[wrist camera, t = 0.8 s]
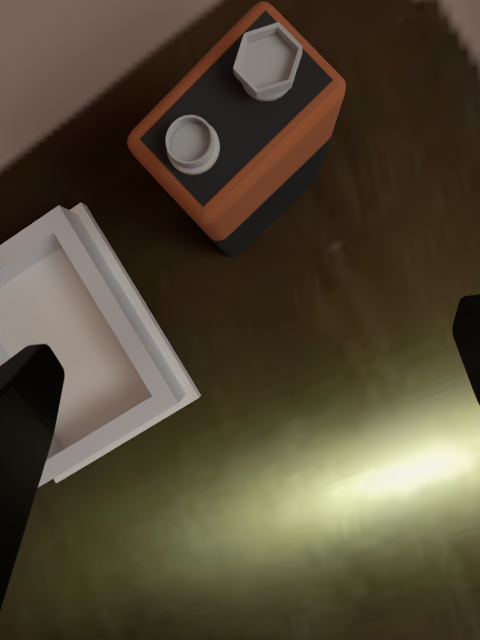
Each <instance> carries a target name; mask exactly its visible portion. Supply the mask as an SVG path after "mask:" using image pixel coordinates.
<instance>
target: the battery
mask: <svg viewBox="0 0 480 640" xmlns="http://www.w3.org/2000/svg"><path fill="white" fill-rule="evenodd" d="M345 88H346V85H345V81H344V79H343V78H342V77H341V76H340V75H339V74H338V73H337V72H336V71H335V70H334V69H333V68H332V67H331V66H330V65H329V64H328V63H327V61H326V60H325V59H324V58H323V57H322V56H321V55H320V54H319V53H318V52H317V51H316V50H315V49H314V48H313V47H312V46H311V45H310V44H309V43H308V42H307V41H306V40H305V39H304V38H303V37H302V36H301V35H300V34H299V33H298V32H297V31H296V30H295V29H294V28H293V27H292V26H291V25H290V24H289V23H288V22H287V20H286V19H285V18H284V17H283V16H282V15H281V14H280V13H279V12H278V11H277V10H276V9H275V8H274V7H273V6H272V5H270V4H269V3H267V2H260V3H258V4H256V5H255V6H254V7H253V8H251V9H250V10H249V11H248V12H247V13H246V14H245V15H244V16H243V17H242V18H241V19H240V20H239V21H238V23H237V24H236V25H235V26H234V27H233V28H232V29H231V30H230V31H229V32H228V33H227V34H226V35H225V36H224V37H223V38H222V39H221V40H220V41H219V42H218V43H217V44H216V45H215V46H214V47H213V48H212V49H211V50H210V51H209V52H208V53H207V54H206V55H205V56H204V57H203V58H202V59H201V60H200V61H199V62H198V63H197V65H196V66H195V67H194V68H193V69H192V70H191V71H190V72H189V73H188V74H187V75H186V76H185V77H184V78H183V79H182V80H181V81H180V82H179V83H178V84H177V85H176V86H175V87H174V88H173V89H172V90H171V91H170V92H169V93H168V94H167V95H166V96H165V97H164V98H163V99H162V100H161V101H160V102H159V103H158V104H157V105H156V106H155V108H154V109H153V110H152V111H151V112H150V113H149V114H148V115H147V116H146V117H145V118H144V119H143V120H142V121H141V122H140V123H139V124H138V125H137V126H136V127H135V128H134V129H133V131H132V132H131V133H130V135H129V137H128V140H127V144H128V148H129V150H130V151H131V153H132V154H133V155H134V156H135V158H136V159H137V160H138V161H139V162H140V163H141V164H142V165H143V166H144V167H145V168H146V169H147V171H148V172H149V173H150V174H151V175H152V176H153V177H154V178H155V179H156V180H157V181H158V182H159V184H160V185H161V186H162V187H163V188H164V189H165V190H166V191H167V192H168V193H169V194H170V195H171V196H172V198H173V199H174V200H175V201H176V202H177V203H178V204H179V205H180V206H181V207H182V208H183V209H184V211H185V212H186V213H187V214H188V215H189V216H190V217H191V218H192V219H193V220H194V221H195V222H196V223H197V224H198V226H199V227H200V228H201V229H202V230H203V231H204V232H205V233H206V234H207V235H208V236H209V237H210V238H211V239H212V241H213V242H214V243H215V244H216V245H217V246H218V247H219V248H220V249H221V250H222V251H223V252H224V253H225V254H226V255H227V256H229V257H234V256H237V255H238V254H239V253H240V252H242V251H243V250H244V249H245V248H246V247H247V246H248V245H249V244H250V243H251V242H252V241H253V240H254V239H255V238H256V237H257V236H259V235H260V234H261V233H262V232H263V231H264V230H265V229H266V228H267V227H268V226H269V225H270V224H271V223H272V222H273V221H274V220H275V219H276V218H277V217H278V216H279V215H281V214H282V213H283V212H284V211H285V210H286V209H287V208H288V207H289V206H290V205H291V204H292V203H293V202H294V201H295V200H296V199H297V198H298V197H299V196H300V195H302V194H303V193H304V192H305V191H306V190H307V189H308V188H309V187H310V186H311V185H312V184H313V183H314V182H315V181H316V180H317V178H318V175H319V172H320V169H321V166H322V163H323V160H324V156H325V153H326V150H327V147H328V144H329V141H330V138H331V135H332V132H333V128H334V125H335V122H336V119H337V116H338V113H339V110H340V107H341V104H342V100H343V97H344V94H345Z"/></svg>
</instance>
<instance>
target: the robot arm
mask: <svg viewBox="0 0 480 640" xmlns="http://www.w3.org/2000/svg"><path fill="white" fill-rule="evenodd" d="M452 331H453V337H454V340H455V343H456V345H457V348H458V351H459V354H460V356H461V359H462V362H463V364H464V367H465V370H466V372H467V375H468V378H469V381H470V383H471V386H472V389H473V391H474V394H475V396H476V398H477V401H478V403H479V405H480V294H479V295H470V296H464V297H462V298H461V300H460V302H459V304H458V308H457V312H456V316H455V319H454V323H453V328H452ZM64 379H65V373H64V369H63V366H62V365H61V363H60V362H59V360H58V359H57V357H56V355H55V354H54V352H53V351H52V349H51V348H50V346H48V345H47V344H35V345H29V346H26V347H25V348H23V349H22V350H21V351H19V352H18V353H17V354H15V355H14V356H13V357H11V358H10V359H9V360H7V361H6V362H5V363H3V364H2V365H1V366H0V610H1V607H2V603H3V600H4V597H5V594H6V590H7V587H8V584H9V581H10V577H11V574H12V571H13V568H14V564H15V561H16V558H17V554H18V551H19V548H20V545H21V541H22V538H23V535H24V532H25V528H26V525H27V522H28V519H29V515H30V512H31V509H32V505H33V502H34V499H35V496H36V492H37V489H38V486H39V483H40V479H41V476H42V473H43V470H44V466H45V463H46V460H47V456H48V453H49V450H50V447H51V443H52V439H53V435H54V431H55V426H56V421H57V416H58V410H59V405H60V400H61V395H62V389H63V384H64Z"/></svg>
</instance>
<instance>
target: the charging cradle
mask: <svg viewBox="0 0 480 640" xmlns="http://www.w3.org/2000/svg"><path fill="white" fill-rule="evenodd" d="M35 344H47V345H48V346H50V348H51V349H52V351H53V352H54V354H55V355H56V357H57V359H58V360H59V362H60V363H61V365H62V366H63V369H64V373H65V379H64V384H63V389H62V395H61V400H60V405H59V410H58V416H57V421H56V426H55V431H54V435H53V439H52V443H51V447H50V450H49V453H48V456H47V460H46V463H45V466H44V470H43V473H42V476H41V479H40V483H39V486H38V487H40V486H41V485H43V484H45V483H46V482H48V481H50V480H51V479H54V480H55V482H56V483H58V482H59V481H61V480H63V479H64V478H66V477H68V476H69V475H71V474H73V473H74V472H76V471H78V470H79V469H81V468H83V467H84V466H86V465H88V464H89V463H91V462H93V461H94V460H96V459H98V458H99V457H101V456H103V455H104V454H106V453H108V452H109V451H111V450H113V449H114V448H116V447H118V446H119V445H121V444H123V443H124V442H126V441H128V440H129V439H131V438H133V437H134V436H136V435H138V434H139V433H141V432H143V431H144V430H146V429H148V428H149V427H151V426H153V425H154V424H156V423H158V422H159V421H161V420H163V419H164V418H166V417H168V416H169V415H171V414H173V413H174V412H176V411H178V410H179V409H181V408H183V407H184V406H186V405H188V404H189V403H191V402H193V401H194V400H196V399H198V398H199V397H200V396H201V394H200V393H199V391H198V389H197V388H196V386H195V384H194V383H193V381H192V379H191V378H190V376H189V374H188V373H187V371H186V369H185V368H184V366H183V364H182V363H181V361H180V360H179V358H178V356H177V355H176V353H175V351H174V350H173V348H172V346H171V345H170V343H169V341H168V340H167V338H166V336H165V335H164V333H163V331H162V330H161V328H160V327H159V325H158V323H157V322H156V320H155V318H154V317H153V315H152V313H151V312H150V310H149V308H148V307H147V305H146V303H145V302H144V300H143V298H142V297H141V295H140V293H139V292H138V290H137V289H136V287H135V285H134V284H133V282H132V280H131V279H130V277H129V275H128V274H127V272H126V270H125V269H124V267H123V265H122V264H121V262H120V260H119V259H118V257H117V256H116V254H115V252H114V251H113V249H112V247H111V246H110V244H109V242H108V241H107V239H106V237H105V236H104V234H103V232H102V231H101V229H100V227H99V226H98V224H97V223H96V221H95V219H94V218H93V216H92V214H91V213H90V211H89V209H88V208H87V206H86V205H85V204H83V203H79V204H78V205H76V206H75V207H73V208H72V209H70V210H68V209H66V208H63V207H61V206H57V207H56V208H54V209H53V210H51V211H50V212H48V213H47V214H45V215H44V216H43V217H41V218H40V219H38V220H37V221H35V222H34V223H32V224H31V225H29V226H28V227H26V228H25V229H23V230H22V231H20V232H19V233H18V234H16V235H15V236H13V237H12V238H10V239H9V240H7V241H6V242H4V243H3V244H1V245H0V366H1V365H2V364H3V363H5V362H6V361H7V360H9V359H10V358H11V357H13V356H14V355H15V354H17V353H18V352H19V351H21V350H22V349H23V348H25V347H26V346H29V345H35Z"/></svg>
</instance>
